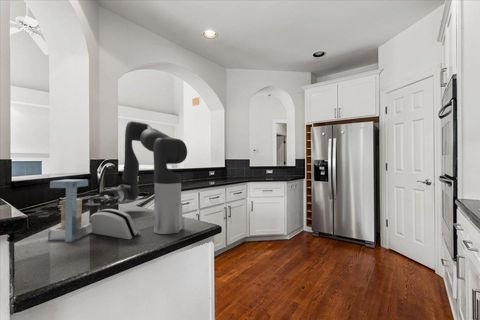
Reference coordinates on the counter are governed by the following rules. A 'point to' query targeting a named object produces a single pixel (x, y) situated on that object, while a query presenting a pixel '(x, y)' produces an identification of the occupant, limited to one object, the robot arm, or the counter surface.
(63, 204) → the link
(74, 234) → the grey i-shaped block
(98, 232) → the gray curved wedge
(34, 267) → the counter surface
